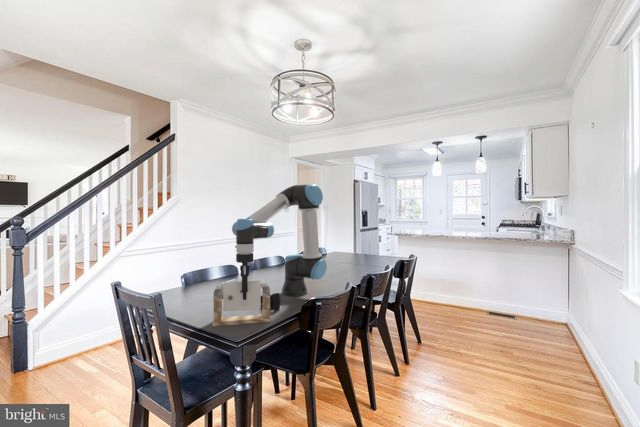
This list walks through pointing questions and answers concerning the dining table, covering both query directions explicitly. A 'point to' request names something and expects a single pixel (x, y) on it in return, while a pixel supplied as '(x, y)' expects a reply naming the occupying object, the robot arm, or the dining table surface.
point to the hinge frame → (235, 320)
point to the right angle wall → (228, 281)
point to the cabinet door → (234, 296)
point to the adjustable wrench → (274, 301)
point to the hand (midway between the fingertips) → (244, 304)
